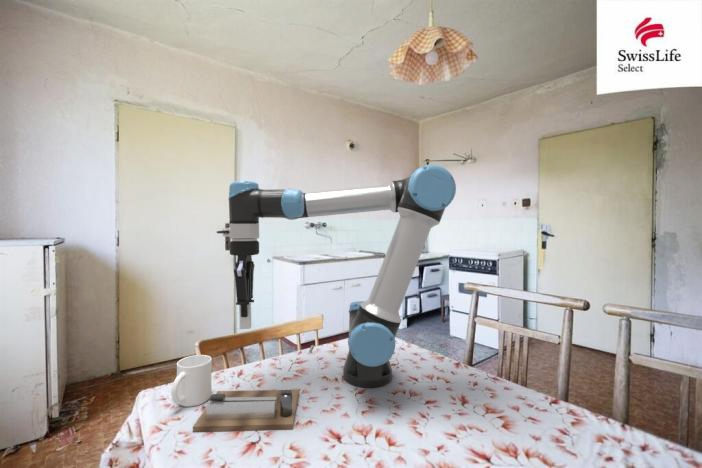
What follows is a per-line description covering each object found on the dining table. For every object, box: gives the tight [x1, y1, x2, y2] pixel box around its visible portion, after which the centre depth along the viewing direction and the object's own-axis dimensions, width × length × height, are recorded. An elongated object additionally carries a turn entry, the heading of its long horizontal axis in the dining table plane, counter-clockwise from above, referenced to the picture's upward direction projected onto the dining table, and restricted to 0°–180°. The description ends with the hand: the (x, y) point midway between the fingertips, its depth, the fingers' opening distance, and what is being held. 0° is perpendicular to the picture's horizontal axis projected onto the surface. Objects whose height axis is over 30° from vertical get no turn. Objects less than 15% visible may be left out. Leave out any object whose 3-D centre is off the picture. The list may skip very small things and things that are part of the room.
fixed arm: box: [205, 391, 292, 420], centre depth 78 cm, size 19×3×5 cm, turn 94°
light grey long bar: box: [209, 393, 277, 413], centre depth 79 cm, size 16×2×4 cm, turn 92°
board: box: [192, 389, 300, 433], centre depth 82 cm, size 22×16×1 cm
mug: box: [171, 354, 213, 408], centre depth 85 cm, size 12×8×10 cm
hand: (245, 327), depth 88 cm, fingers closed
